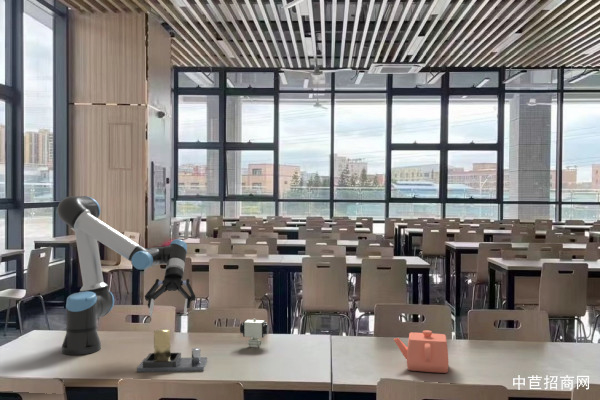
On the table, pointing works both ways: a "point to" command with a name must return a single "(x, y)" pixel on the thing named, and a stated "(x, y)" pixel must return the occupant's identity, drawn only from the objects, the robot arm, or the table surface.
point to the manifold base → (174, 363)
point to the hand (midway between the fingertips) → (167, 314)
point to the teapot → (425, 352)
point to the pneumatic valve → (254, 331)
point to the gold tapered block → (162, 345)
